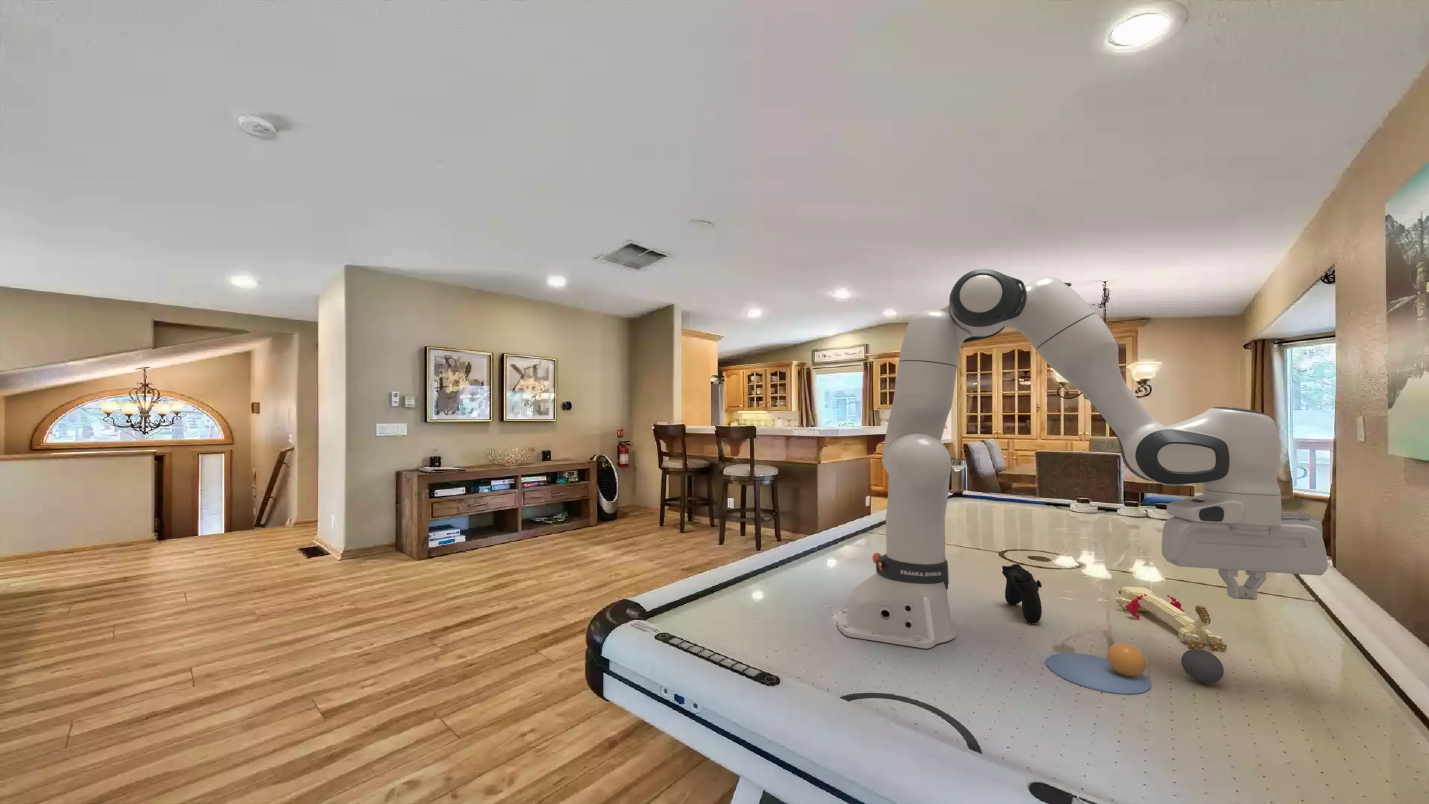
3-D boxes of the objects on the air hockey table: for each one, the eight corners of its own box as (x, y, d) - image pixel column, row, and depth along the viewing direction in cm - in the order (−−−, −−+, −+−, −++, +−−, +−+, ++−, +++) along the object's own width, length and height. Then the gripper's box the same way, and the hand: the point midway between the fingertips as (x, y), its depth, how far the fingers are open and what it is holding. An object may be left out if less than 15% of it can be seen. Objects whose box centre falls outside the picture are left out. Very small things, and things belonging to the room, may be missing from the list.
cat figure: (1239, 660, 95) (1151, 602, 120) (1241, 612, 95) (1152, 564, 119) (1176, 656, 97) (1102, 599, 122) (1177, 609, 97) (1103, 562, 121)
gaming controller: (1053, 627, 107) (1051, 577, 107) (1020, 625, 108) (1019, 575, 108) (1026, 604, 121) (1025, 559, 121) (997, 602, 122) (997, 558, 122)
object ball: (1160, 671, 84) (1131, 688, 84) (1142, 658, 89) (1115, 674, 89) (1137, 644, 84) (1109, 661, 85) (1120, 632, 89) (1094, 648, 90)
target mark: (1067, 689, 82) (1067, 687, 82) (1033, 650, 96) (1033, 649, 96) (1172, 698, 79) (1172, 697, 79) (1121, 658, 93) (1121, 656, 93)
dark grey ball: (1229, 655, 82) (1235, 689, 81) (1206, 642, 87) (1211, 674, 86) (1191, 657, 83) (1197, 690, 82) (1171, 644, 88) (1176, 675, 87)
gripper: (1303, 510, 85) (1304, 597, 85) (1155, 503, 89) (1156, 586, 89) (1340, 517, 79) (1342, 611, 78) (1179, 509, 83) (1180, 599, 83)
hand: (1242, 598), depth 84 cm, fingers closed
